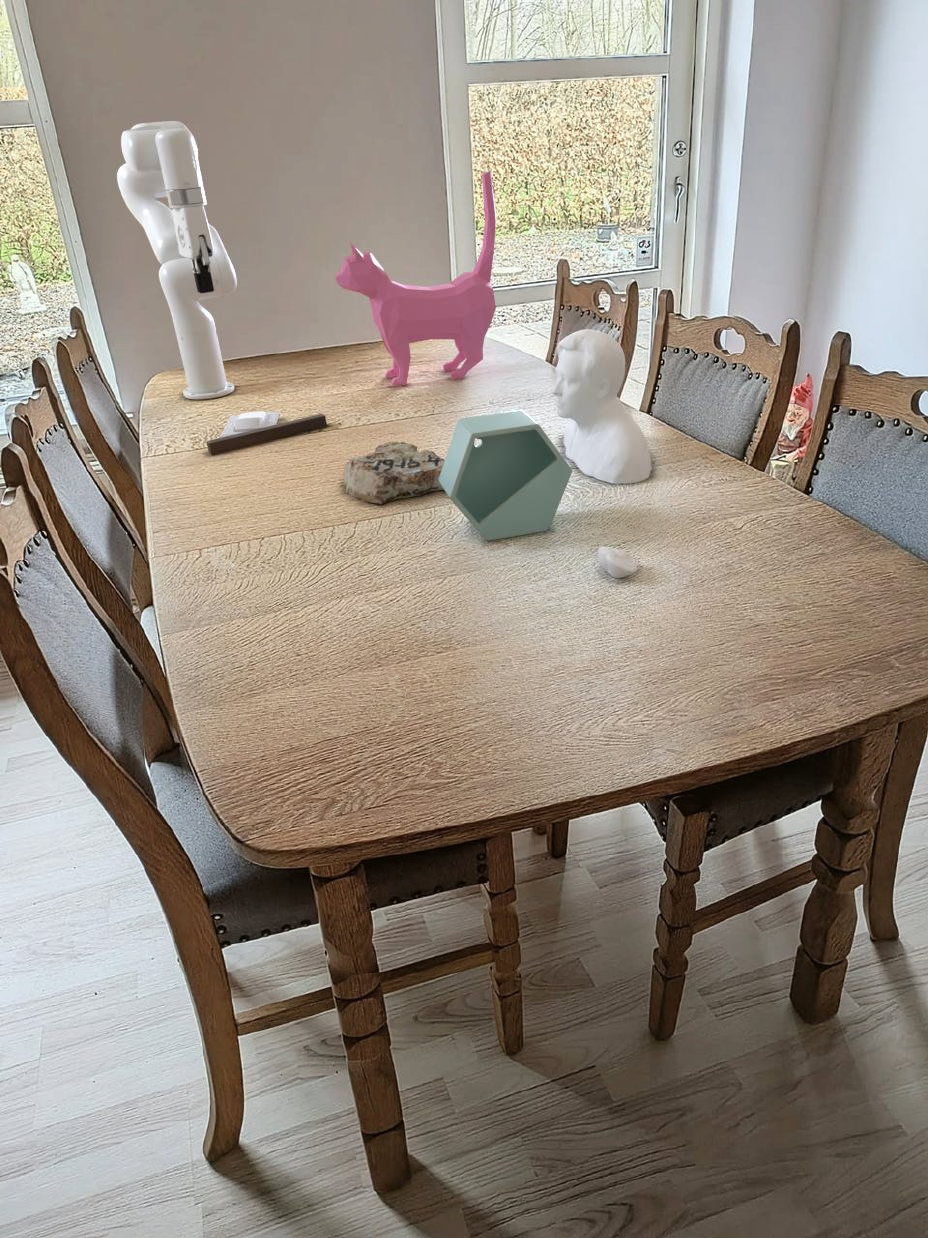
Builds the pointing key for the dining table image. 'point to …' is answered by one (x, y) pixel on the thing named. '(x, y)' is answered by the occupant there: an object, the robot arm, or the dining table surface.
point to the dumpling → (616, 562)
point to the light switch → (249, 422)
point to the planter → (504, 474)
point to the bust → (598, 410)
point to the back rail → (266, 434)
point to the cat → (429, 304)
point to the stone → (393, 473)
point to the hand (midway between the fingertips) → (206, 291)
